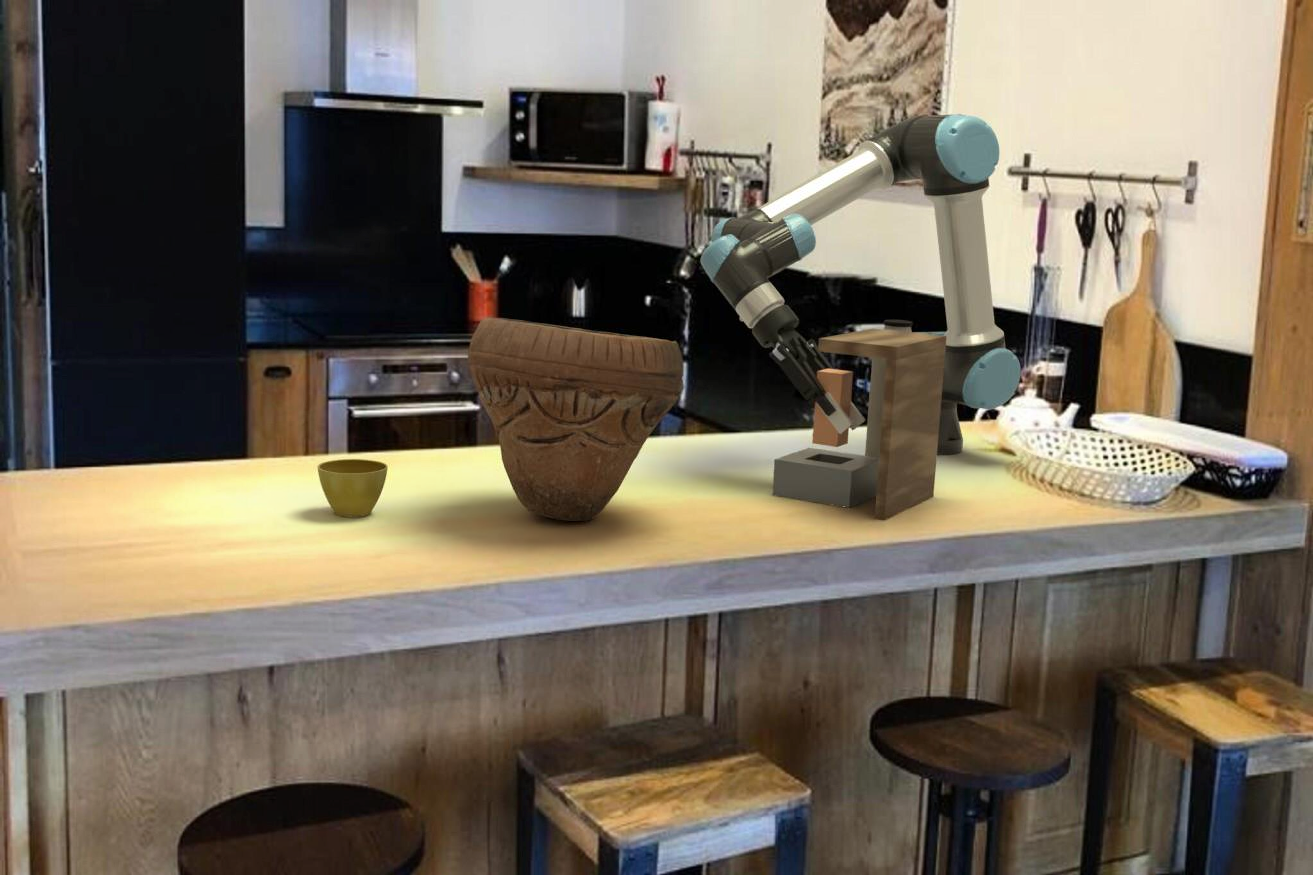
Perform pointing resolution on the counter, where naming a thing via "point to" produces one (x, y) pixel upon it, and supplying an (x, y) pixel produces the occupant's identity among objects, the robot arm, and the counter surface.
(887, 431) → the wooden l-shaped bracket
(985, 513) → the counter surface
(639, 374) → the pot
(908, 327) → the thermos bottle
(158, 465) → the counter surface
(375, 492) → the flower pot
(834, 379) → the peg
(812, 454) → the socket
